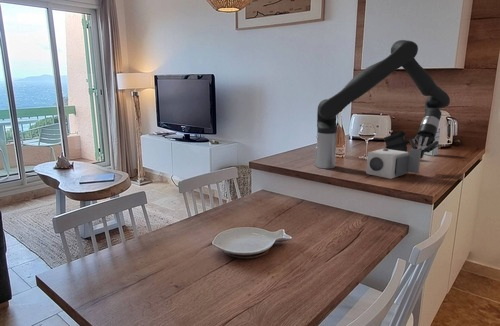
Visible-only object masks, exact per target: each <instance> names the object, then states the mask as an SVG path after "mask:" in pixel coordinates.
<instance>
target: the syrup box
mask: <svg viewBox="0 0 500 326" xmlns="http://www.w3.org/2000/svg"><path fill="white" fill-rule="evenodd" d="M440 136H441V129H438V130H437V132H436V136H435V141H438V143H440ZM429 146H430V145H429ZM438 153H439V146H438V147H436V148H435V149H433V150H432V151H430V152H425V153H424V155H426V156H429V155H430V156H431V157H435V156H434V155H436V156H437V155H438ZM424 155H423V156H424Z"/></svg>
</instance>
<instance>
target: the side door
mask: <svg viewBox="0 0 500 326" xmlns="http://www.w3.org/2000/svg"><path fill="white" fill-rule="evenodd" d="M408 151H409V152H408V155H405V156H402V157H398V158H397V165H396V176H398V177H399V175H400V176H403V175H405V173H406V174H408V173H414V174H419V172H420V164H421V159H420V156H421V150H419V149H413V148H409V150H408ZM402 174H403V175H402Z"/></svg>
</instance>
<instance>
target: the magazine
mask: <svg viewBox="0 0 500 326" xmlns="http://www.w3.org/2000/svg"><path fill="white" fill-rule="evenodd" d="M383 142H385V145H386V146H385V148H387V149H390V150H397V151H404V152H408V145H407V144H408V143H409V142H408V141H407V139H406V132H404V131H403V130H400V131H398V132H396V133H393V134H390V135H387V136H385V137H383Z"/></svg>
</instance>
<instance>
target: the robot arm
mask: <svg viewBox="0 0 500 326" xmlns="http://www.w3.org/2000/svg"><path fill="white" fill-rule="evenodd" d="M418 51H419V46H418V44H417V43H416V42H414V41H412V40H405V39H401V40H397V41H395V42H393V44H392V46H391V48H390V54H389V55H388V56H387V57H386V58H384V59H382V60H380V61H378V62H376V63H373V64H372V65H370V66H368V67H366V68H364V69H363V70H362V71H360V72H359V73H358V74H356V75H355V76H354V77H352V79H350V81H348V83H347V84H346V85H344V87H343V88H342V89H341V90H340V91H339V92H337V93H336V94H334V95H333V96H331V97H329V98H326V99H323V100H321V101H320V102H319V103H318V105H317V111H316V113H317V114H316V116H317V117H316V118H317V119H316V128H317V131H316V135H317V136H316V137H317V138H316V147H314V167H316V168H319V169H334V168H335V167H336V152H337V132H338V131H337V130H338V128H337V116H338V114H339V113H341V112H342V111H343V110H344V109H345V108H346V107H347V106H348V105H350V104H351V103H353V102H354V101H356V100H357V99H359V98H360V97H362V96H363V95H365V94H366V93H368V92H369V91H370V90H372V89H373V88H374V87H375V86H377V85H378V84H379V83H381V82H382V81H383V80H385V79H386V78H387V77H389V75H391V74H393V72H395V71H396V70H398V69H399V68H401V67H402V68H403V69H404V71H405V72H406V73H407V75H409V77H410V78H411V80H412V81H413V82H414V84H415V86H416V87H417V89H418V90H419V92H420V93H421V94H422V95H423V96H424V97H427V98H426V99H425V101H424V114H423V115H424V116H423V118H422V120H421V123H420V124H419V128H418V131H417V134H416V136H414V138H409V139H408V141H409V142H408V143H409V144H410V145H411V146H410V147H412V149H419V150H421V156H420V160H422V158H424V153H425V152H430V151H432V150H433V149H435V148H436V147H438V148H439V145H440V144H439V143H440V142H439V143H438V141H435V136H436V132H437V130H439V124H440V120H441V118H442V111H441V109H444V108H446V107H449V105H450V103H451V99H450V96H449V94H448V93H447V92H446V91H444V90H443V89H442V88H441V87H440V86H438V85H437V84H436V82H435V81H434V80H433V78H432V77H431V75H430V74H429V72H427V71H426V70H425V68H424V67H422V66H421V65H420V63H419V62H418V61H417V60H416V57H417V54H418ZM415 143H416V144H417V145H416V144H415ZM429 145H430V146H429Z"/></svg>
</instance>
